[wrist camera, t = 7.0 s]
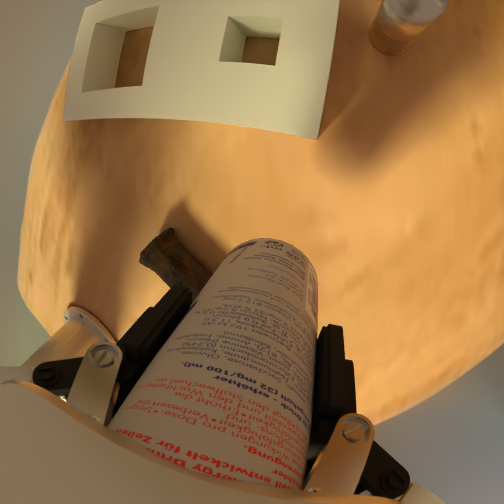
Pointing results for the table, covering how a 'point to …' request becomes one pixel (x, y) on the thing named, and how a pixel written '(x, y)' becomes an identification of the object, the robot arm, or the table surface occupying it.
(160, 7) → the socket block
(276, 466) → the energy drink
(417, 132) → the table surface
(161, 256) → the hand tool
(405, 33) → the grey metal peg
